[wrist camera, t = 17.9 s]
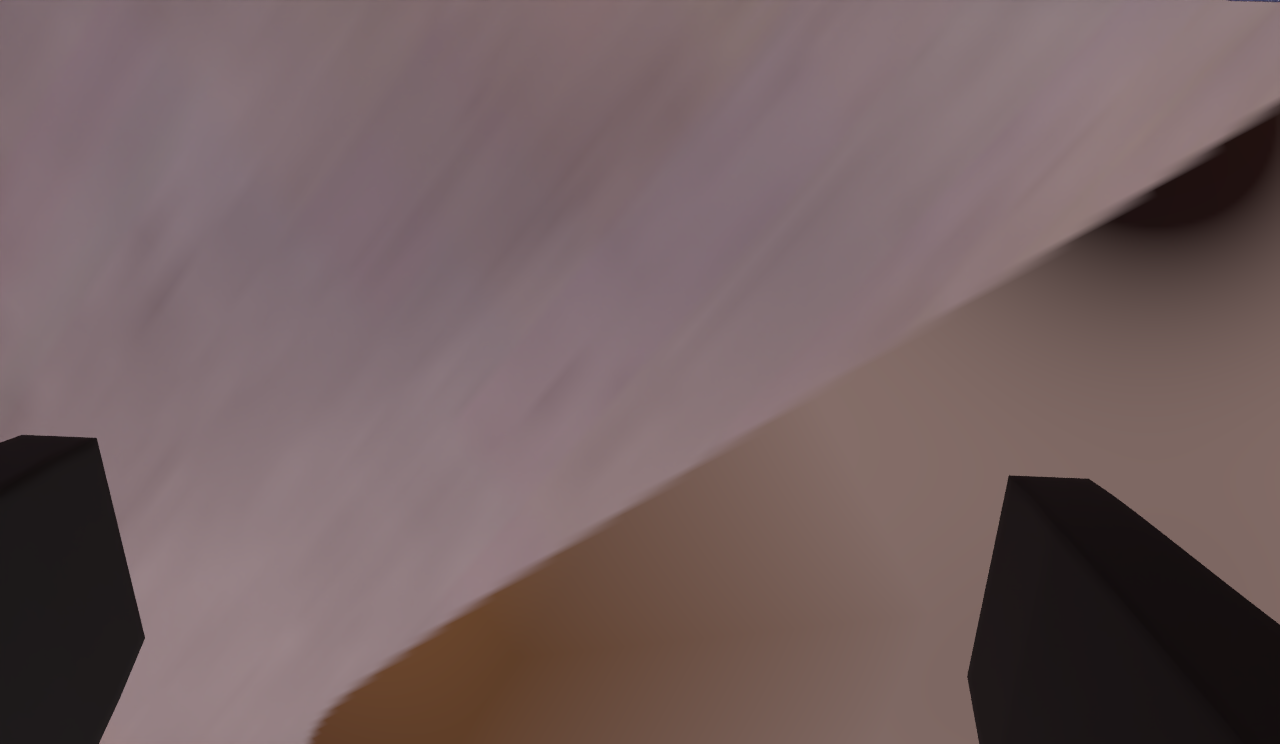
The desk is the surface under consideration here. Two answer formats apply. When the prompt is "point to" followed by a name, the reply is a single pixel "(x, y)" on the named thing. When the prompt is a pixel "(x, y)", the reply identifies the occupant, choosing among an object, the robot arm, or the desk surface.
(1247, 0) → the crock lid
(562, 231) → the desk surface
